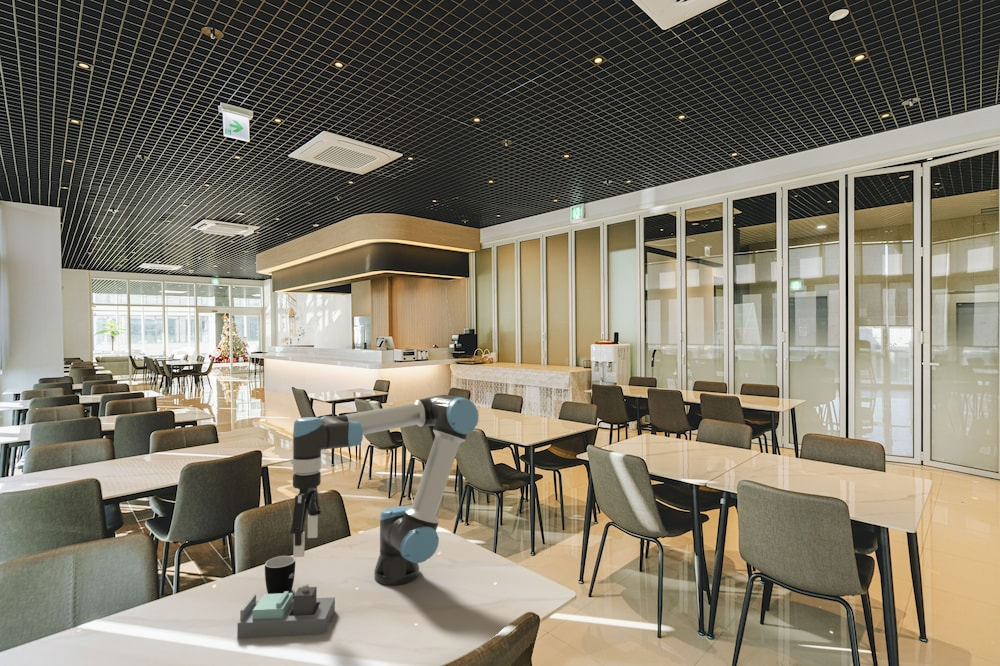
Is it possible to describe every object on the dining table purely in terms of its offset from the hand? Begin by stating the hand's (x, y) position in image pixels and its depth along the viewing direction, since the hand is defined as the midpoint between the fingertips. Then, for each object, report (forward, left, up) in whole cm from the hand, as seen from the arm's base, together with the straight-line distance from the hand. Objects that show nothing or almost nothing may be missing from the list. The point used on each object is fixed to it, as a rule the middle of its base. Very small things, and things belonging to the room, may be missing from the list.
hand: (306, 546), depth 144 cm
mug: (+13, -20, -22) cm, 32 cm away
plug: (0, 0, -22) cm, 22 cm away
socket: (+5, 0, -22) cm, 22 cm away
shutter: (+9, 0, -18) cm, 20 cm away
